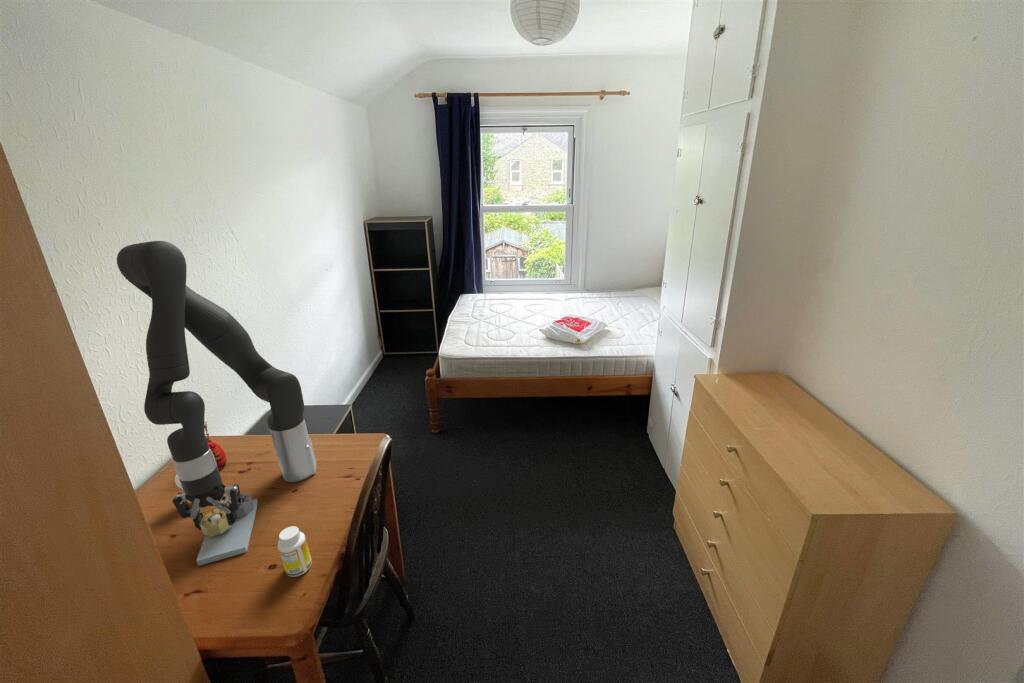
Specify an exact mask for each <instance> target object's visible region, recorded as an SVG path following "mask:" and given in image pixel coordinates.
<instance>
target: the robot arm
mask: <svg viewBox="0 0 1024 683" xmlns="http://www.w3.org/2000/svg"><path fill="white" fill-rule="evenodd" d="M185 257H186V256H185V255H184V253H183V251H182V250H181V249H180V248H178V247H177V246H176V245H175V244H172V242H169V241H165V240H153V241H151V240H150V241H146V242H145V241H144V242H138V243H133V244H129V245H126V246H124V247H123V248H120V250H119V251H118V253H117V256H116V265H117V267H118V270H119V272H120V274H121V275H122V276H123V277H124V279H125V280H127V281H128V282H129V283H130V284H132V286H134V287H135V288H136V289H138V290H139V291H141V292H142V293H144V294H145V296H147V297H149V298H151V305H152V307H151V315H150V316H151V317H150V322H149V324H148V329H147V332H146V338H145V352H146V353H145V354H146V359H147V361H146V362H147V366H148V374H149V375H148V376H149V377H148V381H147V382H148V383H147V389H146V393H145V398H144V404H143V412H144V414H145V416H146V419H147V420H148V421H149V422H150V423H152V424H153V425H158V426H160V425H161V426H162V425H163V426H165V425H176V424H179V425H180V424H181V426H182V427H181V428H178V429H176V430H174V431H172V432H171V433H170V434H169V435H168V436H167V439H166V440H167V441H166V443H167V446H168V449H169V452H170V455H171V456H172V457H171V458H172V460H173V464H174V469H175V472H176V474H178V477H179V480H180V482H181V485H182V488H183V492H184V493H183V492H177V493H176V495H175V496H174V497H173V499H172V504H173V505H174V507H175V508H176V511H177V512H178V514H179V516H180V517H181V519H187V518H189V519H191V520H192V521H193V524H194V526H195V528H196V529H198V531H202V529H201V527H200V522H201V519H202V518H203V517H204V514H203V512H201V510H202V508H206V507H216V509H222V510H223V511H224V512H225V513H226V517H227V520H228V523H229V525H233V524H234V522H235V521H236V519H237V514H236V511H235V510H238V508H239V506H240V504H241V503H242V500H241V495H240V494H241V490H240V484H239V483H234V484H233V485H232V486H226V485H225V484H224V483H223V480H222V476H221V473H220V471H219V469H218V466H217V464H216V461H215V458H214V455H213V453H212V451H211V449H210V447H209V444H208V441H207V435H206V433H205V432H206V430H205V414H206V412H205V411H206V405H205V401H204V399H203V398H202V396H201V395H200V394H198V393H197V392H195V391H192V390H191V391H190V390H189V391H188V390H186V391H172V390H173V386H174V383H176V382H180V381H183V380H186V379H187V378H189V376H190V372H191V371H190V370H191V369H190V362H189V355H188V348H187V340H186V339H187V338H186V331H185V329H186V330H187V331H188V332H189V333H190V334H191V335H192V336H193V337H194V338H195V339H196V340H197V341H198V342H199V343H200V344H201V345H203V346H204V348H206V349H207V350H208V351H209V352H210V353H211V354H213V356H215V357H216V358H218V360H220V361H221V362H222V363H223V364H224V365H225V366H227V367H229V368H230V369H231V370H233V372H235V373H236V374H237V375H238V377H240V378H241V380H242V381H243V382H244V383H245V384H246V386H247V387H248V388H249V389H250V391H251V392H252V393H253V394H254V395H255V397H257V398H259V399H260V400H262V401H264V402H267V403H269V406H270V410H271V413H270V414H269V415H268V417H267V419H266V420H267V425H268V428H269V433H270V436H271V440H272V443H273V447H274V450H275V453H276V458H277V462H278V465H279V468H280V471H281V475H282V478H283V480H284V481H285V482H289V483H295V482H300V481H303V480H306V479H308V478H310V477H311V476H313V475H316V474H317V460H316V455H315V451H314V446H313V443H312V438H311V436H309V433H308V429H307V424H306V421H305V416H304V414H305V413H304V412H305V403H304V402H305V401H304V398H303V397H304V396H303V392H302V387H301V383H300V381H299V379H298V377H297V376H296V375H295V374H293V373H290V372H288V371H285V370H280V369H278V368H276V367H275V366H273V365H272V364H271V363H269V362H268V361H267V360H266V359H265V358H263V357H262V355H261V354H259V353H258V351H257V349H256V348H255V346H254V343H253V341H252V339H251V336H250V335H249V333H248V332H247V330H246V329H245V328H244V327H243V325H242V324H241V323H240V322H239V321H238V320H237V319H236V318H235V317H234V316H233V315H232V314H231V313H230V312H228V310H226V309H224V308H223V307H222V306H220V305H218V304H217V303H215V302H213V301H211V300H209V299H207V298H206V297H205V296H203V295H200V294H198V293H197V292H195V291H194V290H192V289H191V288H190V287H188V285H187V272H188V271H187V270H188V269H187V260H186V258H185ZM230 498H231V501H230V500H229V499H230ZM189 502H191V503H192V504H193V505H192V507H191V506H190V503H189ZM226 505H227V506H226Z"/></svg>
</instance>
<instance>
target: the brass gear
mask: <svg viewBox="0 0 1024 683" xmlns="http://www.w3.org/2000/svg"><path fill="white" fill-rule="evenodd" d="M216 509H217V510H215V509H213V510H211V511H210V512H208V513H206V515H203V518H202V519H201V522H200V527H201V529H202V530H201V531H202V534H203V535H204V536H205V535H207V536H209V537H211V536H215V535H219V534H222V533H223V532H225V531H226V530H227V529H229V528H230V527H231V526H232V525H229V523H228V520H227V517H226V513H225V512H224V511H223V510H222V509H218V508H216ZM216 514H219V515H220V517H221V518H220V519H219V520H217V521H214V522H211V519H210V518H211V517H212V516H213V515H216Z"/></svg>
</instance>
